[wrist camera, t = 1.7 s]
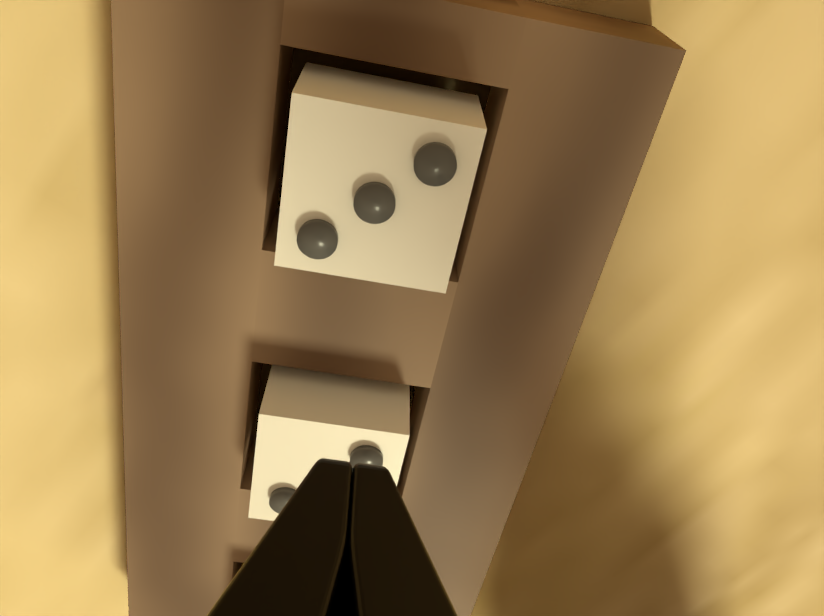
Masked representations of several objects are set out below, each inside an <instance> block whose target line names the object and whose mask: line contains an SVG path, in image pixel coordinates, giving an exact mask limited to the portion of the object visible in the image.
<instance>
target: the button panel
mask: <svg viewBox="0 0 824 616" xmlns="http://www.w3.org/2000/svg"><path fill="white" fill-rule="evenodd" d="M111 21H112V55H113V90H114V124H115V158H116V193H117V227H118V262H119V296H120V330H121V365H122V399H123V434H124V468H125V502H126V537H127V571H128V606H129V616H207V614H208V613H209V611H210V610H211V609H212V607H213V606H214V604H215V603H216V602H217V600H218V599H219V597H220V596H221V595H222V593H223V592H224V590H225V589H226V588H227V586H228V585H229V583H230V582H231V581H232V579H233V578H234V576H235V575H236V574H237V572H238V571H239V569H240V568H241V565H242V563H244V562H245V561H246V559H247V558H248V557H249V555H250V554H251V552H252V551H253V550H254V548H255V547H256V545H257V544H258V543H259V541H260V540H261V538H262V537H263V536H264V534H265V533H266V531H267V530H268V529H269V527H270V526H271V524H272V523H273V522H274V521H270V520H263V519H255V518H248V515H249V505H250V495H251V486H252V476H253V466H254V456H255V447H256V437H257V434H255V426H256V416H257V406H258V396H259V386H260V376H261V366H262V363H266V364H272V365H279V366H286V367H292V368H299V369H306V370H312V371H319V372H326V373H332V374H339V375H346V376H353V377H359V378H366V379H373V380H379V381H386V382H393V383H399V384H406V385H413V386H416V390H415V394H414V398H413V402H412V406H411V410H410V436H409V440H408V444H407V448H406V452H405V456H404V459H403V463H402V467H401V471H400V475H399V479H398V483H397V488H398V490H399V492H400V495H401V497H402V499H403V501H404V503H405V505H406V507H407V509H408V512H409V514H410V516H411V518H412V520H413V522H414V524H415V526H416V529H417V531H418V533H419V535H420V537H421V539H422V541H423V543H424V546H425V548H426V550H427V552H428V554H429V556H430V558H431V560H432V563H433V565H434V567H435V569H436V571H437V573H438V575H439V577H440V580H441V582H442V584H443V586H444V588H445V590H446V592H447V594H448V597H449V599H450V601H451V603H452V605H453V607H454V609H455V611H456V614H457V616H471V613H472V611H473V608H474V605H475V603H476V600H477V597H478V595H479V592H480V590H481V587H482V584H483V582H484V579H485V576H486V574H487V571H488V569H489V566H490V563H491V561H492V558H493V555H494V553H495V550H496V548H497V545H498V542H499V540H500V537H501V534H502V532H503V529H504V527H505V524H506V521H507V519H508V516H509V514H510V511H511V508H512V506H513V503H514V500H515V498H516V495H517V493H518V490H519V487H520V485H521V482H522V479H523V477H524V474H525V472H526V469H527V466H528V464H529V461H530V458H531V456H532V453H533V451H534V448H535V445H536V443H537V440H538V437H539V435H540V432H541V430H542V427H543V424H544V422H545V419H546V417H547V414H548V411H549V409H550V406H551V403H552V401H553V398H554V396H555V393H556V390H557V388H558V385H559V382H560V380H561V377H562V375H563V372H564V369H565V367H566V364H567V361H568V359H569V356H570V354H571V351H572V348H573V346H574V343H575V341H576V338H577V335H578V333H579V330H580V327H581V325H582V322H583V320H584V317H585V314H586V312H587V309H588V306H589V304H590V301H591V299H592V296H593V293H594V291H595V288H596V285H597V283H598V280H599V278H600V275H601V272H602V270H603V267H604V264H605V262H606V259H607V257H608V254H609V251H610V249H611V246H612V244H613V241H614V238H615V236H616V233H617V230H618V228H619V225H620V223H621V220H622V217H623V215H624V212H625V209H626V207H627V204H628V202H629V199H630V196H631V194H632V191H633V188H634V186H635V183H636V181H637V178H638V175H639V173H640V170H641V167H642V165H643V162H644V160H645V157H646V154H647V152H648V149H649V147H650V144H651V141H652V139H653V136H654V133H655V131H656V128H657V126H658V123H659V120H660V118H661V115H662V112H663V110H664V107H665V105H666V102H667V99H668V97H669V94H670V91H671V89H672V86H673V84H674V81H675V78H676V76H677V73H678V70H679V68H680V65H681V63H682V60H683V57H684V55H685V52H686V50H684V49H683V48H682V47H680V46H679V45H678V44H676V43H675V42H674V41H672V40H671V39H670V38H668V37H667V36H665V35H664V34H663V33H661V32H660V31H659V30H657V29H656V28H655V27H653V26H649V25H645V24H640V23H635V22H630V21H625V20H621V19H616V18H611V17H606V16H602V15H597V14H592V13H587V12H582V11H578V10H573V9H568V8H563V7H558V6H554V5H549V4H544V3H539V2H534V1H530V0H111ZM293 47H295V48H300V49H305V50H310V51H316V52H321V53H326V54H331V55H336V56H341V57H346V58H351V59H357V60H362V61H367V62H372V63H377V64H382V65H387V66H392V67H398V68H403V69H408V70H413V71H418V72H423V73H428V74H433V75H439V76H444V77H449V78H454V79H459V80H464V81H469V82H474V83H480V84H485V85H490V86H491V88H490V92H489V96H488V100H487V104H486V108H485V112H484V120H485V123H486V127H487V132H486V136H485V140H484V144H483V148H482V152H481V156H480V160H479V163H478V167H477V171H476V175H475V179H474V183H473V187H472V191H471V195H470V199H469V203H468V207H467V211H466V215H465V219H464V223H463V227H462V231H461V235H460V238H459V242H458V246H457V250H456V254H455V258H454V262H453V266H452V270H451V274H450V278H449V282H448V286H447V290H446V294H445V293H439V292H433V291H427V290H421V289H415V288H409V287H402V286H396V285H390V284H384V283H378V282H372V281H366V280H360V279H354V278H348V277H341V276H335V275H329V274H323V273H317V272H311V271H305V270H299V269H293V268H287V267H280V266H274V261H275V251H276V241H277V232H278V222H279V212H280V208H277V206H278V196H279V187H280V177H281V167H282V157H283V147H284V137H285V127H286V117H287V107H288V97H289V87H290V77H291V67H292V57H293Z"/></svg>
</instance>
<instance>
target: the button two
mask: <svg viewBox="0 0 824 616" xmlns="http://www.w3.org/2000/svg"><path fill="white" fill-rule="evenodd" d="M409 436H410V385H406V384H399V383H393V382H386V381H379V380H373V379H366V378H359V377H353V376H346V375H339V374H332V373H326V372H319V371H312V370H306V369H299V368H292V367H286V366H279V365H272V367H271V370H270V374H269V378H268V382H267V385H266V389H265V393H264V397H263V400H262V404H261V408H260V411H259V417H258V427H257V437H256V447H255V456H254V466H253V476H252V486H251V495H250V505H249V515H248V518H255V519H263V520H270V521H274V520H275V519H276V517H277V516H278V514H279V513H280V512H281V510H282V509H283V507H284V506H285V505H286V503H287V502H288V500H289V499H290V498H291V496H292V495H293V493H294V492H295V491H296V489H297V488H298V486H299V485H300V484H301V482H302V481H303V479H304V478H305V477H306V475H307V474H308V472H309V471H310V470H311V468H312V467H313V465H314V464H315V463H316V462H317V461H318V460H319V459H321V458H326V459H333V460H341V461H347V462H350V463H351V465H352V469H353V467H354V465H355V464H357V463H363V464H370V465H377V466H383V467H386V468H387V469H388V470H389V472H390V473H391V475H392V478H393V480H394V482H395V484H396V486H397V483H398V479H399V475H400V471H401V467H402V463H403V459H404V456H405V452H406V448H407V444H408V440H409Z"/></svg>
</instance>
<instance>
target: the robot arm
mask: <svg viewBox="0 0 824 616" xmlns="http://www.w3.org/2000/svg"><path fill="white" fill-rule="evenodd" d="M207 616H457V614H456V611H455V609H454V607H453V605H452V603H451V601H450V599H449V597H448V594H447V592H446V590H445V588H444V586H443V584H442V582H441V580H440V577H439V575H438V573H437V571H436V569H435V567H434V565H433V563H432V560H431V558H430V556H429V554H428V552H427V550H426V548H425V546H424V543H423V541H422V539H421V537H420V535H419V533H418V531H417V529H416V526H415V524H414V522H413V520H412V518H411V516H410V514H409V512H408V509H407V507H406V505H405V503H404V501H403V499H402V497H401V495H400V492H399V490H398V488H397V486H396V484H395V482H394V480H393V478H392V475H391V473H390V472H389V470H388V469H387V468H386V467H383V466H377V465H370V464H363V463H357V464H355V465H354V467H353V469H352V465H351V463H350V462H347V461H341V460H333V459H326V458H321V459H319V460H318V461H317V462H316V463H315V464H314V465H313V467H312V468H311V470H310V471H309V472H308V474H307V475H306V477H305V478H304V479H303V481H302V482H301V484H300V485H299V486H298V488H297V489H296V491H295V492H294V493H293V495H292V496H291V498H290V499H289V500H288V502H287V503H286V505H285V506H284V507H283V509H282V510H281V512H280V513H279V514H278V516H277V517H276V519H275V520H274V522H273V523H272V524H271V526H270V527H269V529H268V530H267V531H266V533H265V534H264V536H263V537H262V538H261V540H260V541H259V543H258V544H257V545H256V547H255V548H254V550H253V551H252V552H251V554H250V555H249V557H248V558H247V559H246V561H245V562H244V564H243V565H242V566H241V568H240V569H239V571H238V572H237V574H236V575H235V576H234V578H233V579H232V581H231V582H230V583H229V585H228V586H227V588H226V589H225V590H224V592H223V593H222V595H221V596H220V597H219V599H218V600H217V602H216V603H215V604H214V606H213V607H212V609H211V610H210V611H209V613H208V614H207Z"/></svg>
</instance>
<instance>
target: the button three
mask: <svg viewBox="0 0 824 616" xmlns="http://www.w3.org/2000/svg"><path fill="white" fill-rule="evenodd" d="M486 132H487V127H486V123H485V120H484V116H483V112H482V109H481V105H480V101H479V97H478V95H473V94H468V93H463V92H457V91H452V90H447V89H442V88H437V87H432V86H426V85H421V84H416V83H411V82H406V81H401V80H395V79H390V78H385V77H380V76H375V75H370V74H364V73H359V72H354V71H349V70H344V69H338V68H333V67H328V66H323V65H318V64H313V63H307V62H306V64H305V66H304V68H303V70H302V72H301V74H300V77H299V79H298V81H297V83H296V85H295V87H294V89H293V91H292V95H291V105H290V114H289V124H288V134H287V144H286V154H285V163H284V173H283V183H282V193H281V202H280V212H279V222H278V232H277V241H276V251H275V261H274V266H280V267H287V268H293V269H299V270H305V271H311V272H317V273H323V274H329V275H335V276H341V277H348V278H354V279H360V280H366V281H372V282H378V283H384V284H390V285H396V286H402V287H409V288H415V289H421V290H427V291H433V292H439V293H445V294H446V290H447V286H448V282H449V278H450V274H451V270H452V266H453V262H454V258H455V254H456V250H457V246H458V242H459V238H460V235H461V231H462V227H463V223H464V219H465V215H466V211H467V207H468V203H469V199H470V195H471V191H472V187H473V183H474V179H475V175H476V171H477V167H478V163H479V160H480V156H481V152H482V148H483V144H484V140H485V136H486Z"/></svg>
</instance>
